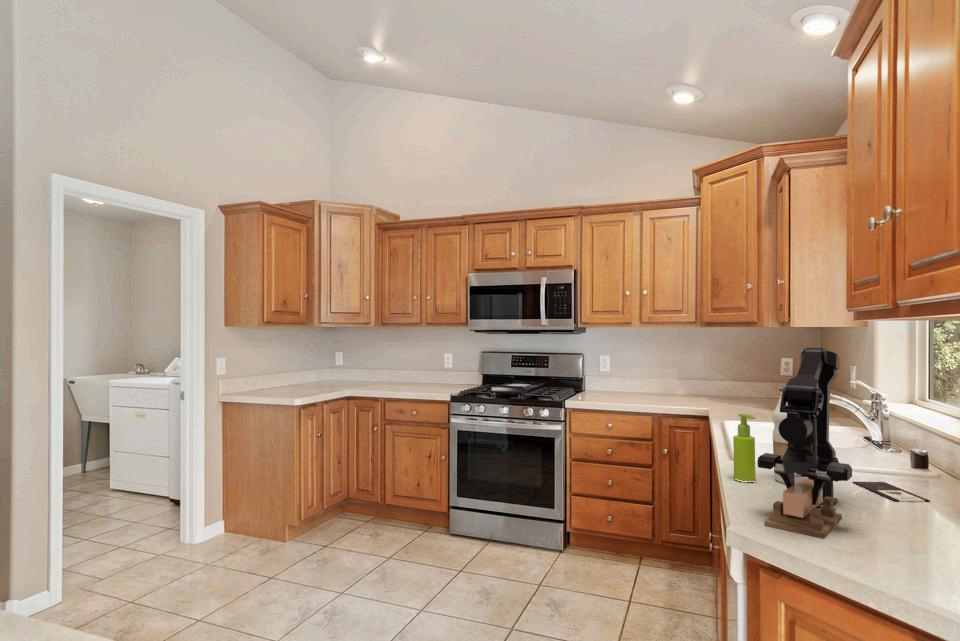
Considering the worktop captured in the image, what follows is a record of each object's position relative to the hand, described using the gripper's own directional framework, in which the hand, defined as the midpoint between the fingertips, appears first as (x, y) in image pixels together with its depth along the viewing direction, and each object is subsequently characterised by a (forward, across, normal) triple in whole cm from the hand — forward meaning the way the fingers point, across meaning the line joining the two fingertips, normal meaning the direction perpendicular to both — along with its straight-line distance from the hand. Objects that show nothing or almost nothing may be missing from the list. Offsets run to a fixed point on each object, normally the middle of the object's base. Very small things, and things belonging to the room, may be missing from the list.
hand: (803, 502), depth 130 cm
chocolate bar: (+5, +11, +43) cm, 45 cm away
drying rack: (+4, 0, 0) cm, 5 cm away
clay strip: (+1, 0, 0) cm, 1 cm away
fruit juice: (+5, -12, +37) cm, 39 cm away
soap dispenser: (+5, -22, +28) cm, 36 cm away
